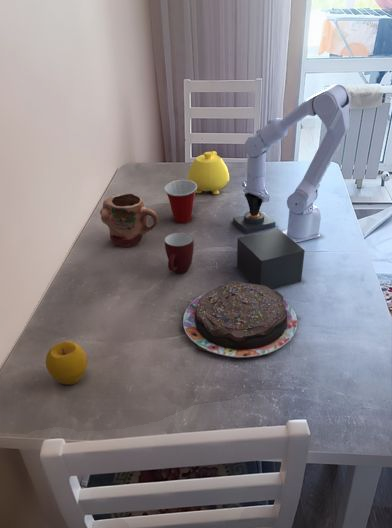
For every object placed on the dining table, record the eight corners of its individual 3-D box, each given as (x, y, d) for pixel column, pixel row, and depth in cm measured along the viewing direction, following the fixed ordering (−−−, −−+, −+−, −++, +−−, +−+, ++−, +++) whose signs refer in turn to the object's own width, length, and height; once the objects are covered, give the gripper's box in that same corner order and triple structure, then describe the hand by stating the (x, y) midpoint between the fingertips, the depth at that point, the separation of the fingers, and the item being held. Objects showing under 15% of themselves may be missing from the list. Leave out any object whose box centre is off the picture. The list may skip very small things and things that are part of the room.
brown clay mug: (168, 235, 156) (165, 195, 147) (154, 254, 146) (150, 211, 138) (111, 229, 161) (105, 189, 152) (95, 246, 151) (87, 205, 143)
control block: (261, 215, 165) (262, 206, 163) (275, 226, 158) (275, 216, 156) (233, 222, 162) (233, 212, 159) (245, 233, 155) (245, 223, 153)
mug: (187, 284, 133) (186, 252, 127) (160, 280, 135) (157, 249, 129) (198, 264, 141) (197, 233, 135) (172, 261, 143) (169, 231, 137)
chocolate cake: (164, 346, 112) (162, 324, 108) (204, 283, 133) (204, 262, 129) (283, 372, 104) (286, 349, 100) (306, 301, 125) (309, 279, 121)
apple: (55, 365, 108) (46, 335, 103) (93, 363, 108) (86, 333, 103) (47, 393, 101) (38, 362, 96) (88, 391, 102) (80, 360, 96)
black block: (236, 268, 139) (237, 237, 133) (275, 258, 142) (277, 228, 136) (259, 292, 128) (261, 261, 122) (301, 281, 132) (304, 250, 126)
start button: (256, 216, 161) (256, 211, 160) (261, 220, 158) (261, 215, 157) (246, 218, 160) (246, 213, 158) (251, 222, 157) (252, 217, 156)
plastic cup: (161, 224, 162) (158, 190, 155) (174, 210, 170) (172, 178, 163) (191, 229, 159) (189, 194, 152) (203, 215, 167) (202, 181, 159)
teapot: (195, 175, 196) (194, 141, 187) (233, 177, 193) (234, 143, 184) (184, 195, 180) (182, 159, 172) (225, 198, 177) (225, 161, 169)
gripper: (234, 168, 154) (233, 208, 162) (255, 184, 143) (253, 226, 151) (253, 165, 156) (252, 204, 164) (276, 180, 145) (273, 221, 153)
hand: (254, 214), depth 158 cm, fingers closed, pressing on start button
